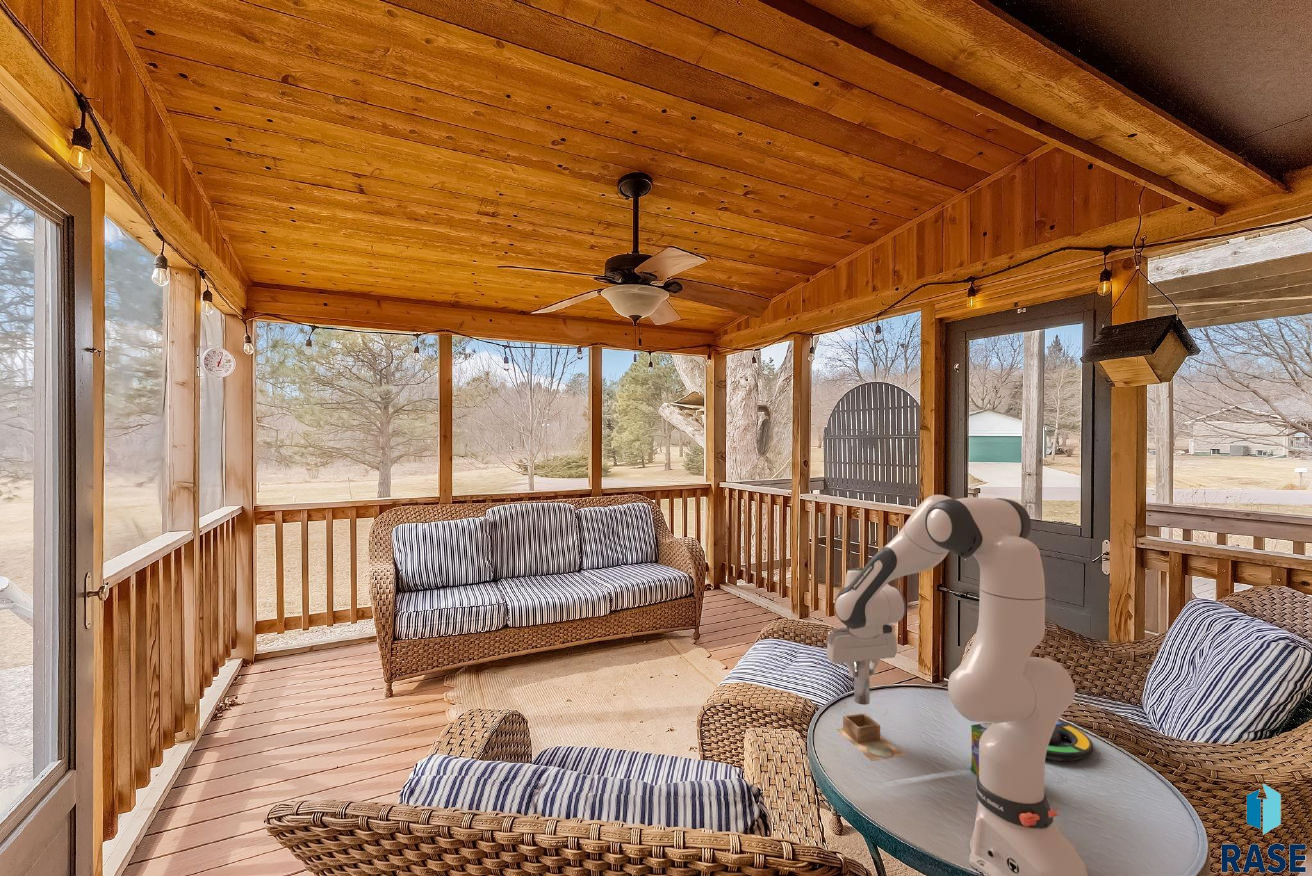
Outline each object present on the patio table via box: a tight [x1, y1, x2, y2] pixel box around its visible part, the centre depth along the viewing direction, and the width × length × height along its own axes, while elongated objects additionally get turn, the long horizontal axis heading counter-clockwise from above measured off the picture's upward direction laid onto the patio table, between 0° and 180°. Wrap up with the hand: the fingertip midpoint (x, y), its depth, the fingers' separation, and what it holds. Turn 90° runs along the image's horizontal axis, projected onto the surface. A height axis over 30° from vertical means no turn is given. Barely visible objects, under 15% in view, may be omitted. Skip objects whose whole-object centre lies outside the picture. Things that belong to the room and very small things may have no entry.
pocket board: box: [836, 713, 905, 762], centre depth 153 cm, size 16×10×5 cm, turn 14°
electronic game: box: [1045, 719, 1094, 762], centre depth 155 cm, size 23×23×5 cm
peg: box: [853, 660, 871, 706], centre depth 157 cm, size 4×4×12 cm
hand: (861, 675), depth 157 cm, fingers closed on peg, 4 cm apart
